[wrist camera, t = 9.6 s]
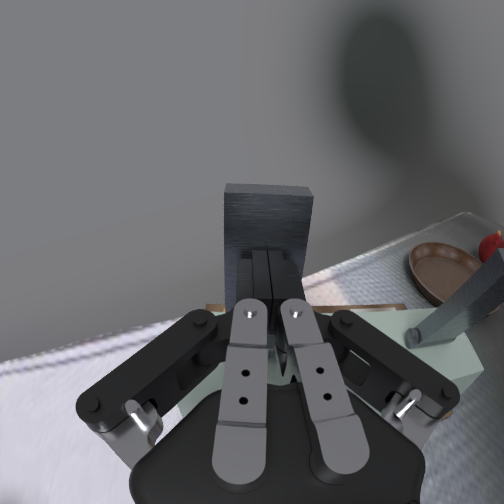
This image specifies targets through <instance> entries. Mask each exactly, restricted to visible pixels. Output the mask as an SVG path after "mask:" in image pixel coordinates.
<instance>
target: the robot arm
mask: <svg viewBox="0 0 504 504" xmlns="http://www.w3.org/2000/svg"><path fill="white" fill-rule="evenodd" d="M268 328H269V335H275V346H274V350H275V356H276V361H277V366H278V371H279V377H280V383H281V386H279V385H274V384H268V383H267V361H268V347H267V335H268ZM350 350H351V351H352V352H351V351H350ZM353 352H354V353H355V354H356V355H355V354H354V353H353ZM357 355H358V356H359V357H360V358H359V357H358V356H357ZM361 358H362V359H363V360H364V361H363V360H362V359H361ZM225 361H226V362H225ZM365 361H366V362H367V363H368V364H369V365H368V364H367V363H366V362H365ZM222 362H225V369H224V377H223V385H222V389H220V390H217V391H215V392H212V393H211V394H209V395H207V396H206V397H205V398H203V399H202V400H201V401H200V402H199V403H198V404H197V405H196V406H195V407H194V408H193V409H192V410H191V411H190V412H189V413H188V414H187V415H186V416H185V417H184V418H183V419H182V420H181V421H180V422H179V423H178V424H177V425H176V426H175V427H174V428H173V429H172V430H171V431H170V432H169V433H168V434H167V435H166V436H165V437H164V438H163V439H161V440H160V441H159V442H158V443H157V444H156V445H155V442H156V440H157V438H158V437H159V436H160V435H161V433H162V431H163V421H162V419H161V418H162V417H163V416H164V415H165V414H166V413H167V412H169V411H170V410H171V409H172V408H173V407H174V406H175V405H176V404H178V403H179V402H180V401H181V400H182V399H183V398H184V397H185V396H186V395H188V394H189V393H190V392H191V391H192V390H193V389H194V388H195V387H196V386H197V385H198V384H200V383H201V382H202V381H203V380H204V379H205V378H206V377H207V376H208V375H209V374H210V373H211V372H212V371H214V370H215V369H216V368H217V366H218V365H219V363H222ZM345 385H346V386H347V387H348V388H349V389H351V390H352V391H353V392H354V393H356V394H357V395H358V396H360V397H361V398H362V399H363V400H365V401H366V402H367V403H368V404H370V405H371V406H372V407H374V408H375V409H376V410H377V411H379V412H380V413H381V416H380V415H379V414H378V413H376V412H375V411H374V410H373V409H372V408H370V407H369V406H368V405H367V404H366V403H364V402H363V401H362V400H361V399H360V398H359V397H357V396H356V395H355V394H354V393H352V392H351V391H349V390H347V389H346V387H345ZM459 400H460V392H459V389H458V387H457V386H456V385H455V384H454V383H453V382H452V381H450V380H449V379H448V378H446V377H445V376H443V375H442V374H441V373H439V372H438V371H436V370H435V369H434V368H432V367H431V366H429V365H428V364H427V363H425V362H424V361H422V360H421V359H420V358H418V357H417V356H415V355H414V354H412V353H411V352H410V351H408V350H407V349H405V348H404V347H403V346H401V345H400V344H398V343H397V342H396V341H394V340H393V339H391V338H390V337H388V336H387V335H386V334H384V333H383V332H381V331H380V330H378V329H377V328H376V327H374V326H373V325H371V324H370V323H369V322H367V321H366V320H364V319H363V318H361V317H360V316H359V315H357V314H356V313H354V312H352V311H349V310H338V311H336V312H334V313H333V314H332V316H329V315H325V314H321V313H318V312H316V311H314V310H313V309H312V307H311V306H310V304H309V303H307V302H306V299H305V294H304V290H303V286H302V282H301V278H300V275H299V269H298V266H297V265H296V264H295V263H294V261H293V260H284V258H283V252H282V250H271V249H267V250H266V249H252V254H251V259H241V260H240V261H239V263H238V264H237V276H236V303H235V306H234V307H233V308H232V309H231V310H230V311H229V312H227V313H224V314H221V315H217V316H215V315H214V314H213V313H212V312H210V311H208V310H203V309H198V310H194V311H191V312H189V313H188V314H186V315H185V316H184V317H182V318H181V319H180V320H179V321H177V322H176V323H175V324H173V325H172V326H171V327H169V328H168V329H167V330H165V331H164V332H163V333H162V334H160V335H159V336H158V337H156V338H155V339H154V340H152V341H151V342H150V343H148V344H147V345H146V346H144V347H143V348H142V349H140V350H139V351H138V352H137V353H135V354H134V355H133V356H131V357H130V358H129V359H127V360H126V361H125V362H123V363H122V364H121V365H119V366H118V367H117V368H115V369H114V370H113V371H111V372H110V373H109V374H107V375H106V376H105V377H103V378H102V379H101V380H99V381H98V382H97V383H95V384H94V385H93V386H91V387H90V388H89V389H87V390H86V391H85V392H83V393H82V394H81V395H80V396H79V398H78V399H77V402H76V412H77V414H78V416H79V417H80V418H81V419H82V420H83V421H84V422H85V423H86V424H87V426H88V427H89V428H90V429H91V430H92V431H93V432H94V433H95V434H97V435H98V436H99V437H100V438H101V439H103V440H104V441H105V442H106V443H107V444H108V445H109V446H110V447H111V448H112V450H113V451H114V452H115V453H116V454H117V455H118V456H119V457H120V458H121V460H122V461H123V462H124V463H125V464H126V465H127V466H128V467H129V468H130V469H131V470H132V471H131V474H130V478H129V489H130V493H131V496H132V498H133V500H134V502H135V504H420V491H421V485H422V481H423V478H424V474H425V459H424V456H423V453H422V452H421V449H422V447H423V446H424V444H425V443H426V441H427V439H428V438H429V436H430V435H431V433H432V431H433V430H434V428H435V426H436V425H437V423H438V421H439V420H440V419H441V418H442V417H444V416H445V415H446V414H447V413H448V412H449V411H451V410H452V409H453V408H454V407H455V406H456V405H457V404H458V402H459Z"/></svg>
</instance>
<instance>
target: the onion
mask: <svg viewBox="0 0 504 504" xmlns="http://www.w3.org/2000/svg"><path fill="white" fill-rule="evenodd" d="M497 248H504V242H503V239H502V237H501V232H500V231H499V230H498V232H497V233H496V234H492V235H489V236H487V237H485V238H484V239H483V240H482V241H481V243H480V245H479V258H480V261H481V262H482V263H483V264H484V263H485V262H486V260H487V259H488V258H489V257H490V256H491V255H492V254H493V253H494V252H495V251H496V249H497Z"/></svg>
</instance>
